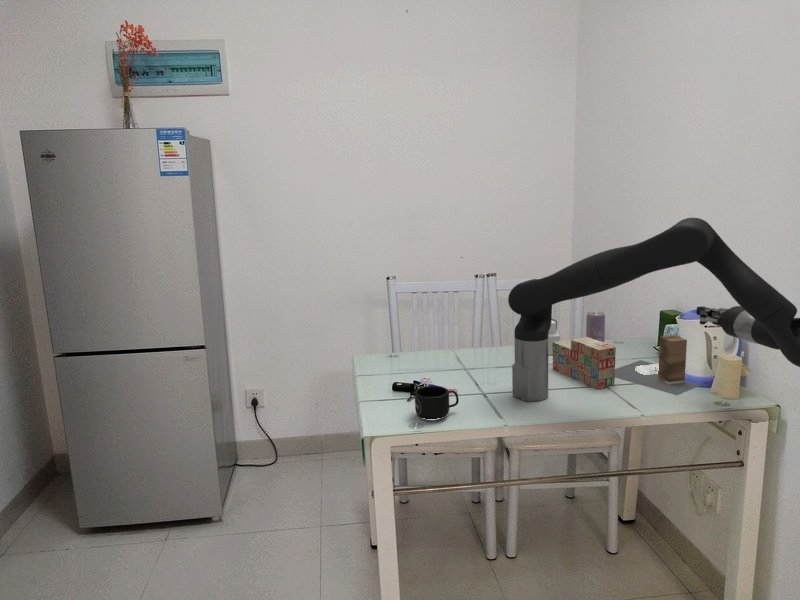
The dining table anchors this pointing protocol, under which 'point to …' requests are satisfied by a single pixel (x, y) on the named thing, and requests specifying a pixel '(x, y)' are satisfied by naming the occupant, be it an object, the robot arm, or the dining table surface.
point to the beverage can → (595, 325)
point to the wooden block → (672, 359)
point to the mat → (650, 379)
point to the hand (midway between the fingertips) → (699, 310)
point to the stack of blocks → (586, 361)
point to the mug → (433, 402)
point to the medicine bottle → (552, 336)
